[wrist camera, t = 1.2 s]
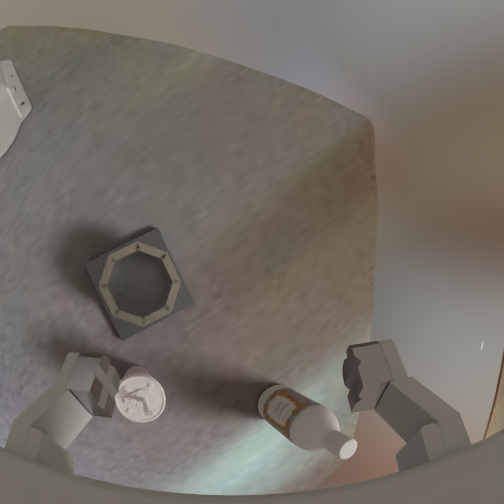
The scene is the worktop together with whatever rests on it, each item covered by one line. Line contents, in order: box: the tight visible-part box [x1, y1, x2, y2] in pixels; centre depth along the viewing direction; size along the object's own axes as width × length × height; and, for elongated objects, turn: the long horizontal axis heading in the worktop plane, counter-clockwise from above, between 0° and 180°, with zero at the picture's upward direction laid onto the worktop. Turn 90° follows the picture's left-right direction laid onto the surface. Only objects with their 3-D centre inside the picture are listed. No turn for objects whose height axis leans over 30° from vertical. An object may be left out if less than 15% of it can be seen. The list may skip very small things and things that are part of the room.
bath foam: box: [258, 385, 357, 459], centre depth 39 cm, size 7×7×20 cm
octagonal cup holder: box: [85, 228, 194, 341], centre depth 40 cm, size 12×12×6 cm
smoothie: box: [114, 366, 166, 422], centre depth 34 cm, size 6×6×14 cm
